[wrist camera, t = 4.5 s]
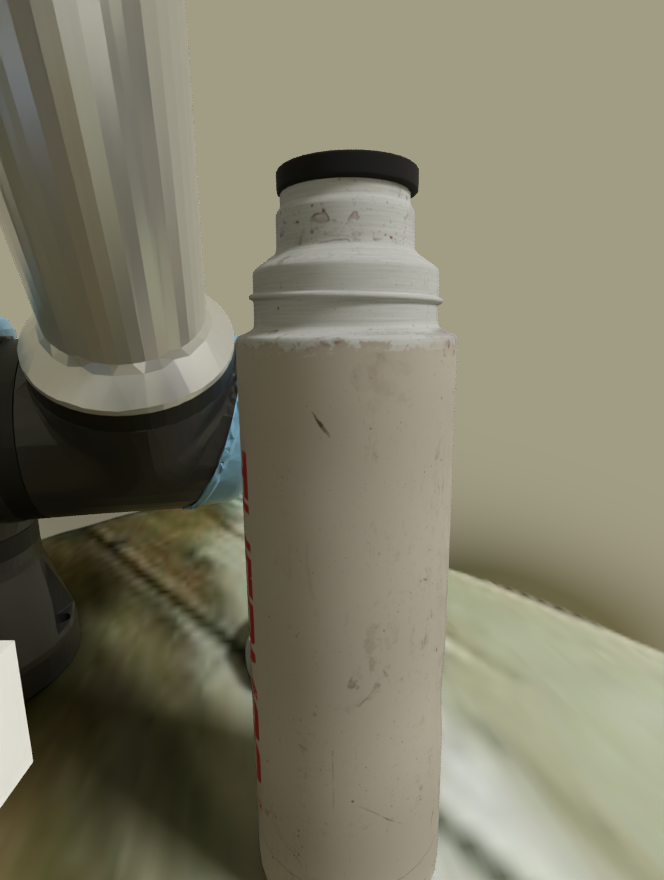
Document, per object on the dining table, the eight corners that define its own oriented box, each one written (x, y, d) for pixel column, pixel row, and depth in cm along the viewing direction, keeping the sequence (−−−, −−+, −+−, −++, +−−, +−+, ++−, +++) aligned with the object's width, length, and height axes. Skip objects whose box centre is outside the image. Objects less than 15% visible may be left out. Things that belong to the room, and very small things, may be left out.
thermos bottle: (230, 906, 21) (180, 137, 15) (291, 751, 28) (274, 202, 22) (432, 960, 19) (466, 105, 13) (440, 779, 26) (463, 188, 20)
